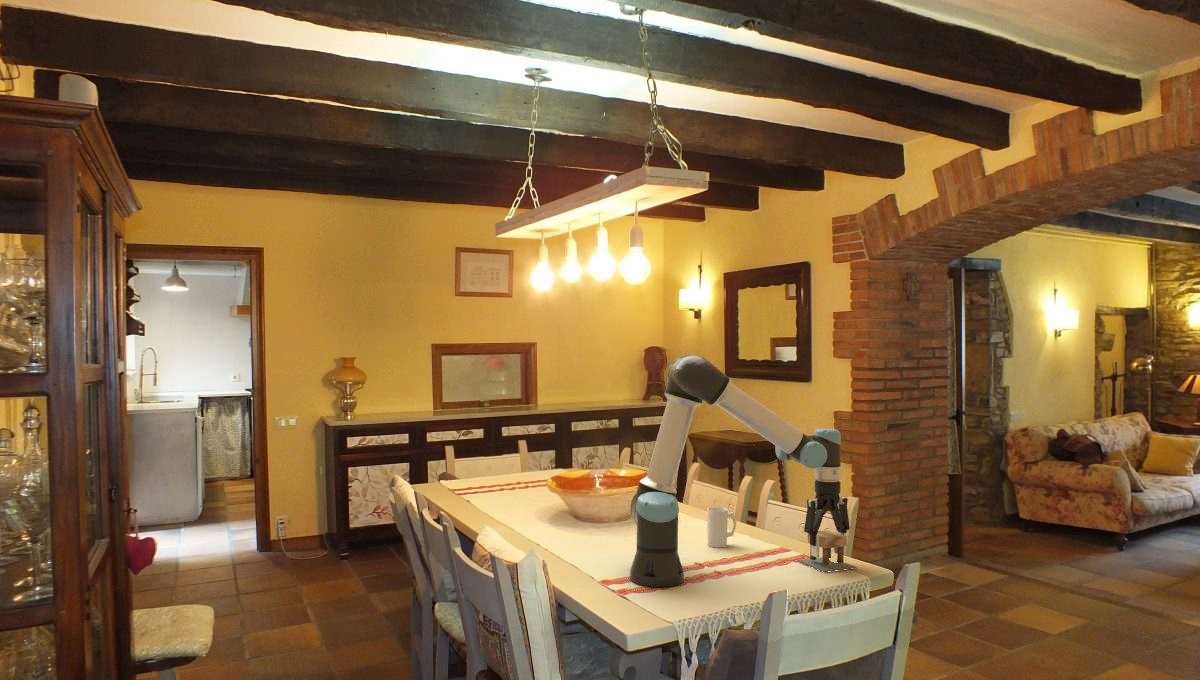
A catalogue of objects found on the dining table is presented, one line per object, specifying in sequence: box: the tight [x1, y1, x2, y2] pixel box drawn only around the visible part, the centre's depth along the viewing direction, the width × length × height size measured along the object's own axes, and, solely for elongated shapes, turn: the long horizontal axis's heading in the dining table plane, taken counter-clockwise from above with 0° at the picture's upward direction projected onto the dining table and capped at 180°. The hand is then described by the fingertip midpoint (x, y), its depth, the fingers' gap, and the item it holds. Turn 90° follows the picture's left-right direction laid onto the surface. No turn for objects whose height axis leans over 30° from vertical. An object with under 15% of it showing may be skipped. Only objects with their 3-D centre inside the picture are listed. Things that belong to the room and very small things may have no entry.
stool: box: [807, 529, 848, 565], centre depth 231 cm, size 8×8×8 cm
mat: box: [797, 557, 857, 573], centre depth 230 cm, size 12×12×1 cm
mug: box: [706, 506, 737, 549], centre depth 253 cm, size 10×7×12 cm, turn 101°
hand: (826, 554), depth 230 cm, fingers closed on stool, 8 cm apart
